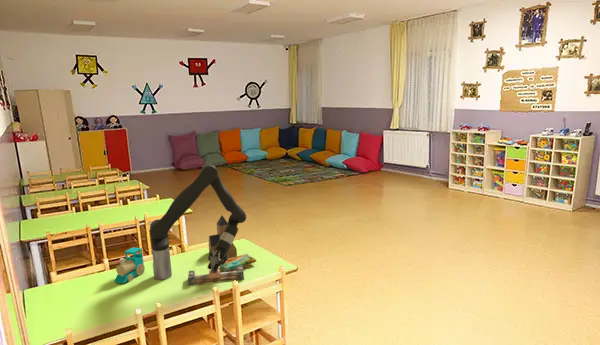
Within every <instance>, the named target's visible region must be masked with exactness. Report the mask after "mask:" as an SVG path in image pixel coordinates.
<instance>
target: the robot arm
mask: <svg viewBox="0 0 600 345" xmlns="http://www.w3.org/2000/svg"><path fill="white" fill-rule="evenodd" d="M209 186H211V188H212V189H213V190H214V191H215V194H216V196H217V197H218V199H219V201H220V203H221V204H222V206H223V207H224V209H225V211H227V212H229V213H230V215H229V217H228V221H227V223H228V224H227V227H226V229H225V231H224V233H223V234H222V236H221V238H220V240H219V241H218V243H217V245H216V249H215V250H214V251H211V250H210V253H209V252H208V253H209V254H208V259H207V260H208V261H209V263H208V265H207V269H208V270H211V263H210V257H212V256H216V257H217V264H215V266H214V268H213V270H214V271H216V270H217V269H219V268H220V267H219V265H223V264H224V263H225V262H226V261H227V259H228V258H229V256H228V255H227V252H228V251H229V249H230V247H231V245H232V243H233V244H234V240H235V237H236V236H237V234H238V231H239V228H238V225H239V224H242V223H244V222H246V220H247V215H246V212H245V211H244V210H243V208H242V207H241V206H240V205H238V203H237V202H236V201H235V199H234V197H233V196H232V194H231V193H230V191H229V190H228V188H227V187H226V186H225V185H224V183H223V181H222V180H221V178H220V176H219V170H218V168H217V167H216V166H215V165H213V164H211V163H208V164H204V165H203V166H202V168H201V170H200V173H199V174H198V176H197V177H196V179H194V181H193V182H192V183H191V184H189V185H188V186H187V187H185V188H184V189H183V190H182V191H180V193H179V194H178V195H177V196H176V197H175V199H174V200H173V201H172V202H171V204H170V206H169V208H168V209H167V211H166V212H165V214H164V215H163V216H162V217H161V218H160V219H158V218H157V219H155V220H152V222H151V223H150V225H149V233H150V242H151V251H152V252H151V254H152V261H153V262H152V270H153V279H154V280H167V279H170V278H171V277H172V274H173V272H172V263H171V255H170V254H171V253H170V252H171V251H170V242H169V233H168V232H170V230H171V229H172V228H173V226H174V224H176V222H177V221H178V220H179V219H181V217H182V216H183V215H184V214H185V213H186V212H187V211H188V210H189V209H190V208H191V207H192V205H193V204H194V203H195V202H196V200H198V198H199V197H200V196H201V194H202V193H203V191H204V190H206V189H207V188H208V187H209Z"/></svg>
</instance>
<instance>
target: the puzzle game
mask: <svg viewBox="0 0 600 345" xmlns="http://www.w3.org/2000/svg"><path fill="white" fill-rule="evenodd" d="M256 262H257V259H256V258H254V257H253V256H252V255H249V254H248V253H244V254H240V255H237V256H236V257H233V258H228V259H227V261H226V262H225V263H224V264H223V265H219V267H218V268H219V269H220V270H222V271H224V272H231V271H238V269H237V266H240V265H243V269H244V268H248V267H250V266H252V264H254V263H256Z"/></svg>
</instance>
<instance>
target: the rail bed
mask: <svg viewBox="0 0 600 345" xmlns="http://www.w3.org/2000/svg"><path fill="white" fill-rule="evenodd" d="M237 269H238V270H236V271H231V272H225V271H224V272H220V278H213V279H209V273H206V274H205V273H204V274H196V273H195V270H189V271H188V275H187V282H188V283H187V284H188V286H195V285H203V283H204V284H211V282H213V283H219V282H218V281H222V282H230V281H237V280H236V279H239V280H238V281H241V280H242V279H243V280H245V276H244V275H245V274H244V273H245V272H244V268H243V265H240V266H237ZM243 280H242V281H243Z"/></svg>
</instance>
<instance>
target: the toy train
mask: <svg viewBox="0 0 600 345" xmlns="http://www.w3.org/2000/svg"><path fill="white" fill-rule="evenodd" d="M138 252H140V253H138ZM124 253H125V258H124V257H120V258H119V263H120V264H119V265H118V264H117V266H116V268H115V270H116V274H117V275H116V277H115V279H114V283H119V284H125V283H127V282H132V281H133V279H134V278H135V277H136V276H141V275H144V273H145V270H146V269H145V265H144V258H143V257H144V256H143V248H140V247H135V246H133V247H131V248H128V249H127V250H125V251H124ZM128 255H132V256H128Z"/></svg>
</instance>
